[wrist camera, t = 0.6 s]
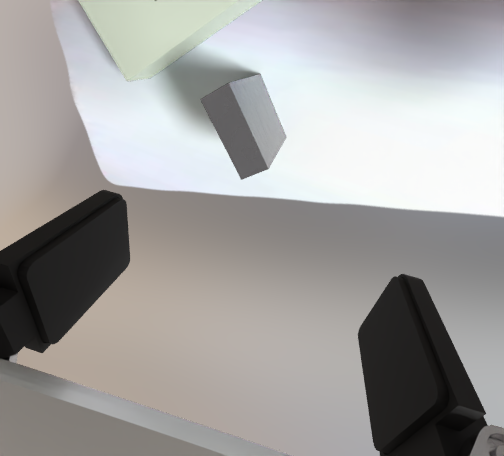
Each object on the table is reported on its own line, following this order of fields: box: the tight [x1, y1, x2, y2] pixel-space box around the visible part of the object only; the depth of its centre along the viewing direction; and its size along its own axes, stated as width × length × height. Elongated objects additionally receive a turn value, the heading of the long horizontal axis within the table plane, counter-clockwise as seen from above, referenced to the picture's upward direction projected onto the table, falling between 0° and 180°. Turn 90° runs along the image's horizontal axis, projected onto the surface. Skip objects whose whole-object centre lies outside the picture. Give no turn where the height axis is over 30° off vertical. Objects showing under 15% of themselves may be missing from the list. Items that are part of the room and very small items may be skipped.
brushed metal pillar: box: [200, 74, 286, 180], centre depth 30 cm, size 3×8×12 cm, turn 27°
